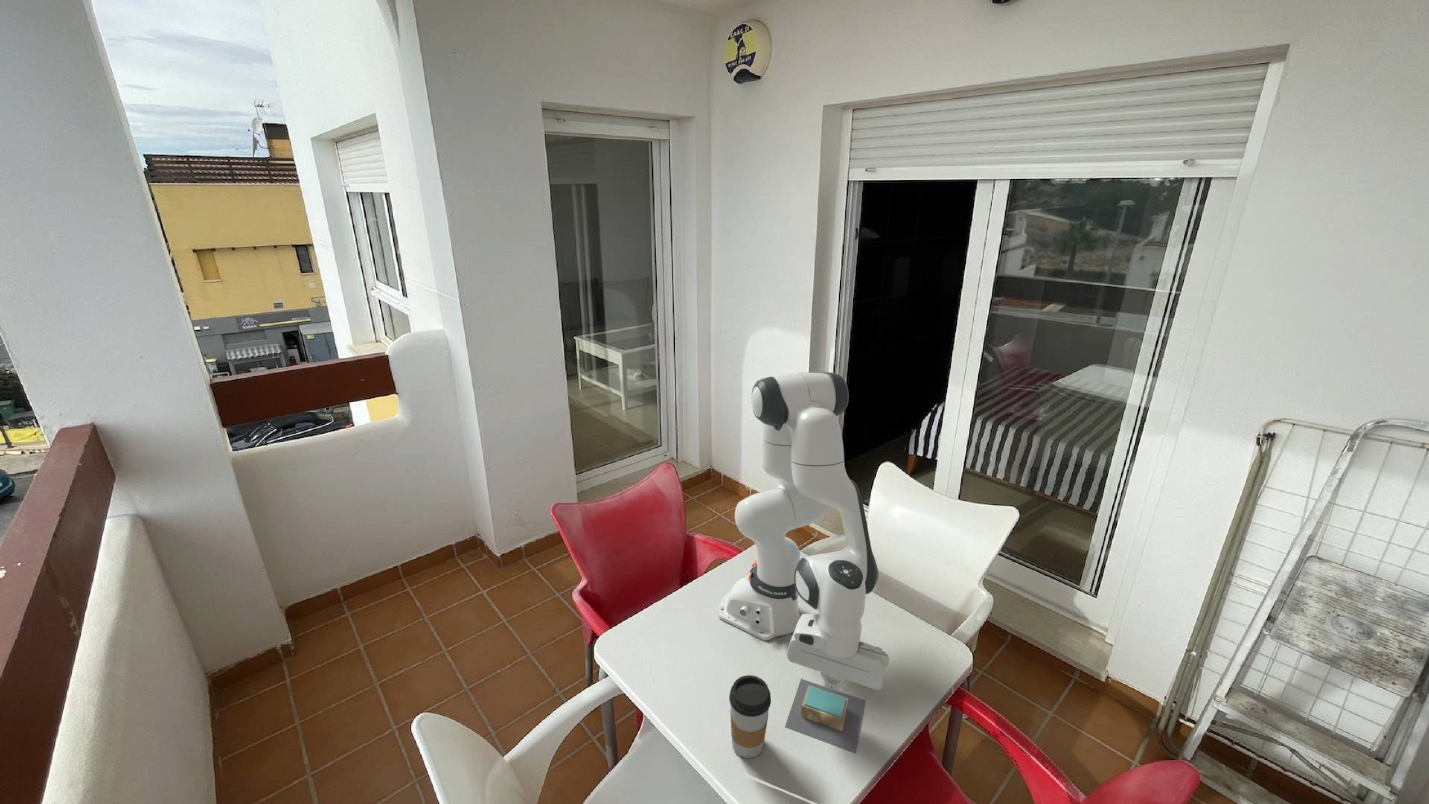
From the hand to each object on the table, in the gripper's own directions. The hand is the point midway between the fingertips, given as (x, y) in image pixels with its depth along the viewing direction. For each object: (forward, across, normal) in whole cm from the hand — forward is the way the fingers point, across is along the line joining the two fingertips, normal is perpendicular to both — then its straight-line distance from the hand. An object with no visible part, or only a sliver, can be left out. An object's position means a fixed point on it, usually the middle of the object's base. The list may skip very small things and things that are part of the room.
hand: (831, 687), depth 117 cm
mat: (+8, 0, 0) cm, 8 cm away
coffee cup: (+8, +14, +14) cm, 22 cm away
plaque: (+6, -4, 0) cm, 7 cm away
